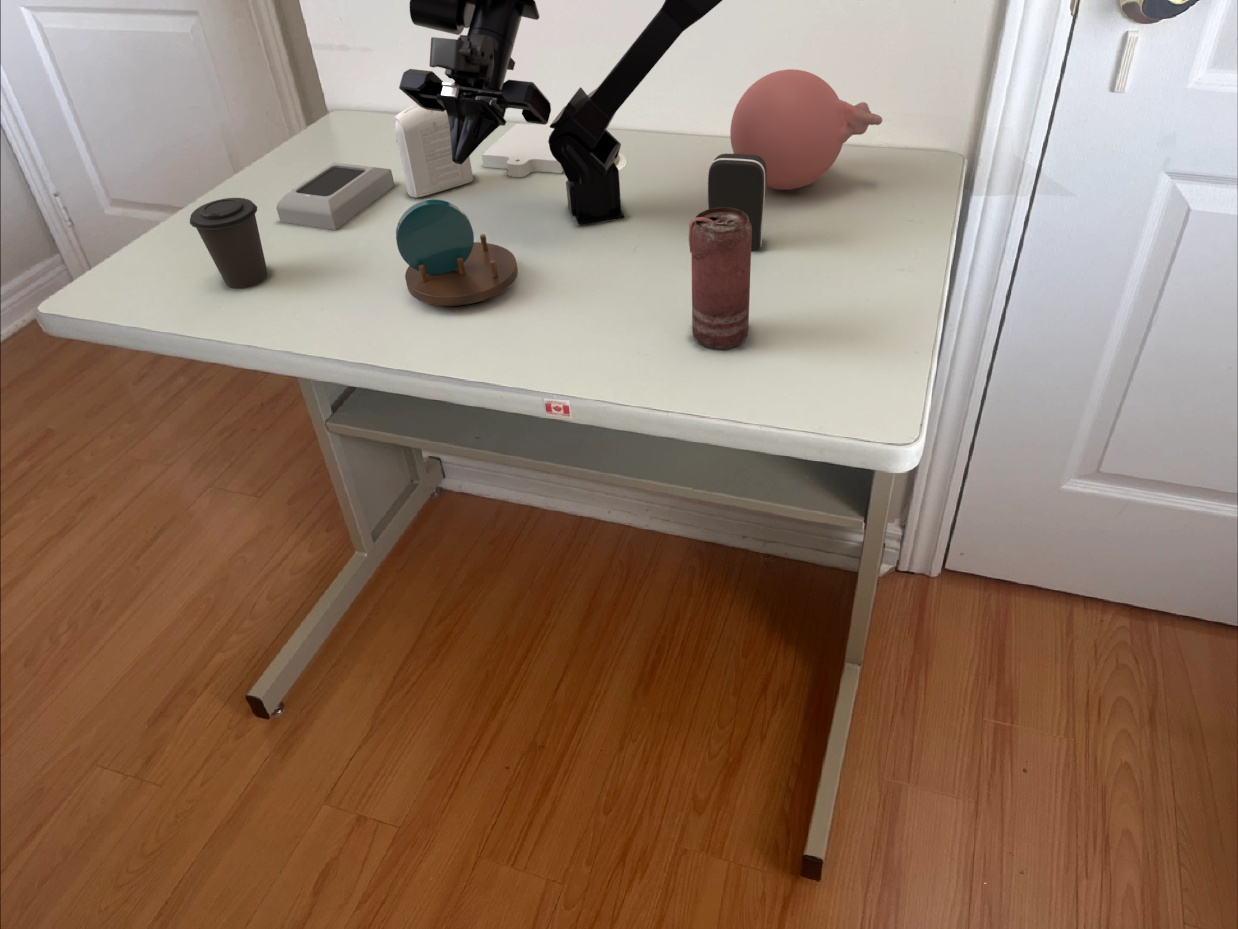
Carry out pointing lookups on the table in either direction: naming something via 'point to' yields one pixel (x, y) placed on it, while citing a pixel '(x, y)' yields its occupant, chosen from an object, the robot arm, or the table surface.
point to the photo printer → (428, 152)
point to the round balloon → (795, 126)
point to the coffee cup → (232, 240)
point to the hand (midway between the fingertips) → (456, 162)
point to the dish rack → (450, 257)
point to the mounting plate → (523, 151)
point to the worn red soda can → (720, 277)
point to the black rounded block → (739, 188)
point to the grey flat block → (334, 195)
